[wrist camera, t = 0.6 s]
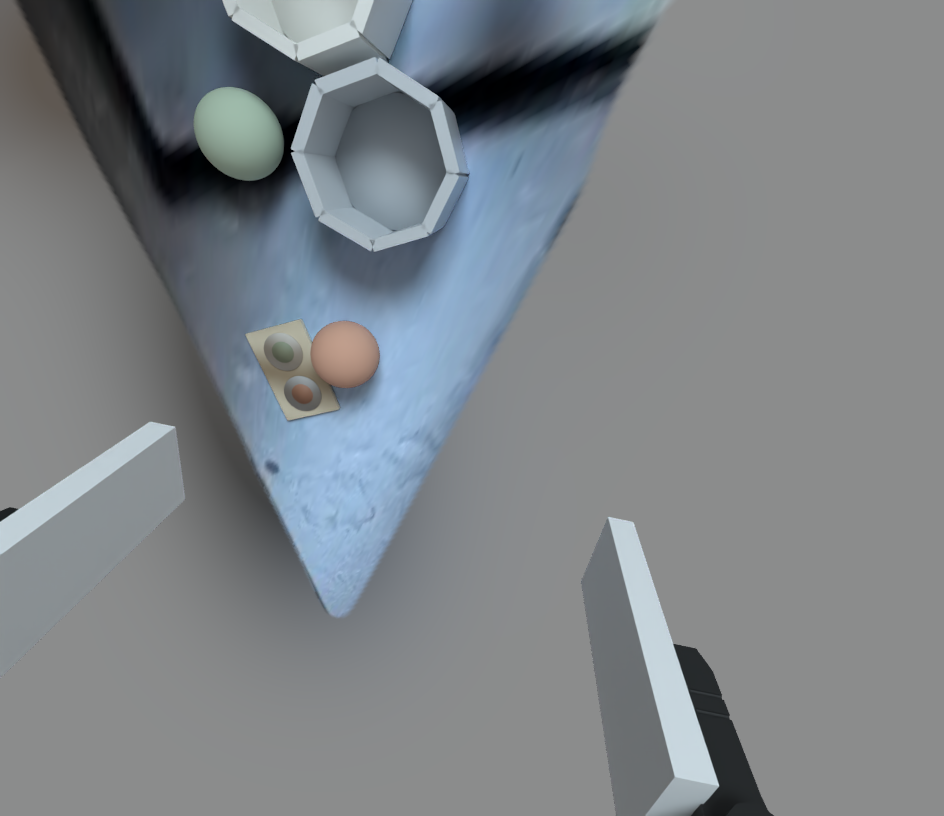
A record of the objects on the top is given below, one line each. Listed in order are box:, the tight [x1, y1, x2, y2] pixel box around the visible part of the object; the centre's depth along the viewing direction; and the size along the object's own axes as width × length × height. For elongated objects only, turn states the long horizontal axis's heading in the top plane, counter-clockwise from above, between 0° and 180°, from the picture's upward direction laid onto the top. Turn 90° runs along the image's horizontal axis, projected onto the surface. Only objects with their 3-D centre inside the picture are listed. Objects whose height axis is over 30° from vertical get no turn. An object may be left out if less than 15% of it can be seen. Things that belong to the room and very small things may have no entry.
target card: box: [245, 319, 340, 420], centre depth 38 cm, size 8×5×1 cm, turn 15°
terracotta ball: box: [310, 321, 380, 388], centre depth 34 cm, size 5×5×5 cm
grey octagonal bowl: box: [291, 57, 469, 252], centre depth 28 cm, size 9×9×6 cm
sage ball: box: [194, 87, 284, 181], centre depth 29 cm, size 5×5×5 cm
